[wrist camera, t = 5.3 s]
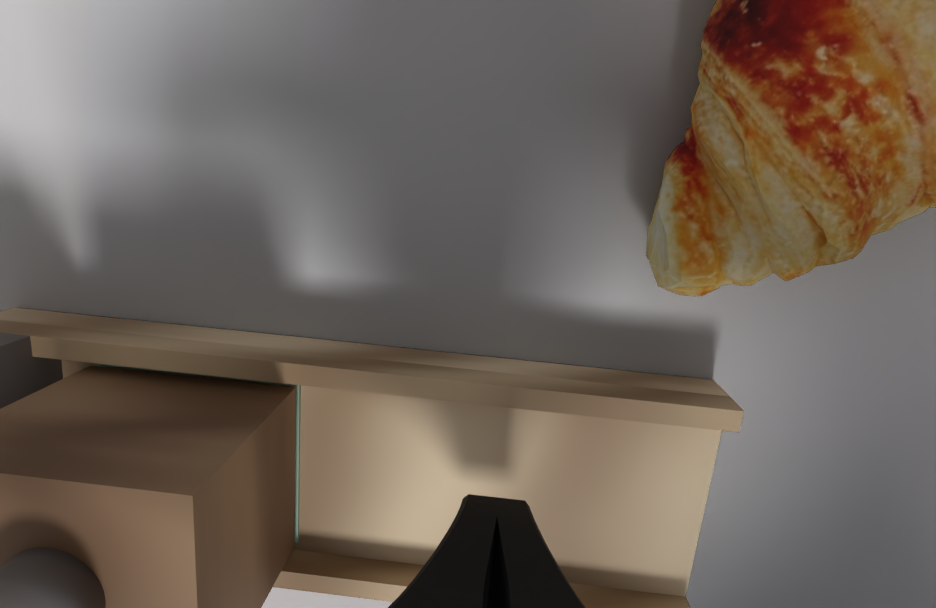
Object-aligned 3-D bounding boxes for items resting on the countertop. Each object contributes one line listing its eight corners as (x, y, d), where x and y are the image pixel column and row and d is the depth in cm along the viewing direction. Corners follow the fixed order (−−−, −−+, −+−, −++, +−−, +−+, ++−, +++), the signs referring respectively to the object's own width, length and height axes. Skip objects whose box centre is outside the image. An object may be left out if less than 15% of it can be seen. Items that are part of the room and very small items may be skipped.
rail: (713, 380, 14) (828, 497, 9) (670, 584, 15) (748, 782, 10) (14, 307, 14) (-236, 379, 10) (38, 508, 16) (-167, 658, 11)
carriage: (295, 387, 13) (161, 528, 8) (294, 547, 14) (175, 760, 9) (90, 365, 13) (-166, 488, 8) (105, 524, 14) (-115, 720, 9)
